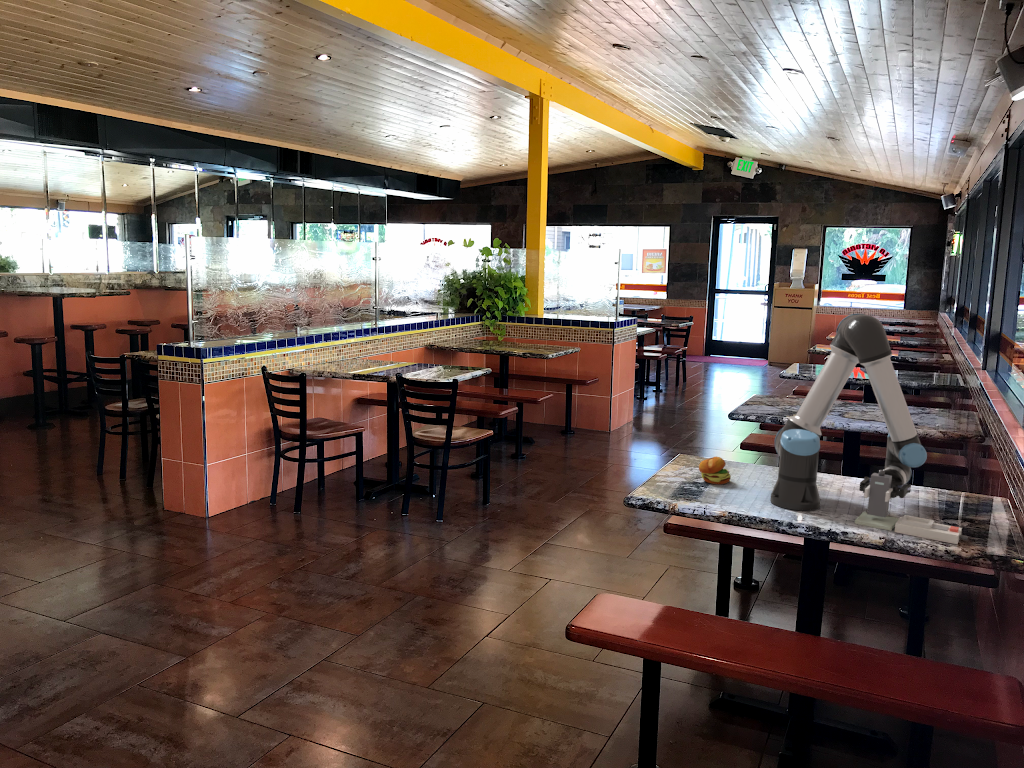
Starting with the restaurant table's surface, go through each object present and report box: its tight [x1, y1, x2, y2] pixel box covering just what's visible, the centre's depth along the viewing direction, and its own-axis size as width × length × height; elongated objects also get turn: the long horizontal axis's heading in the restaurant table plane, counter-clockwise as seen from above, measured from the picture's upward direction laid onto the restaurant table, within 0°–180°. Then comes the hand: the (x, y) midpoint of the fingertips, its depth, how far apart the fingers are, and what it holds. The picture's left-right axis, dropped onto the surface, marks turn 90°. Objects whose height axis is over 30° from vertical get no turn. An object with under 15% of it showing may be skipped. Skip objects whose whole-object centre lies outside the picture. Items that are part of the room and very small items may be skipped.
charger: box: [866, 469, 892, 517], centre depth 236 cm, size 5×4×14 cm
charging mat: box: [854, 511, 900, 531], centre depth 237 cm, size 10×12×1 cm
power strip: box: [894, 514, 969, 545], centre depth 227 cm, size 18×9×4 cm, turn 55°
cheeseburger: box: [698, 456, 732, 485], centre depth 279 cm, size 10×11×10 cm
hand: (876, 495), depth 232 cm, fingers closed on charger, 5 cm apart
